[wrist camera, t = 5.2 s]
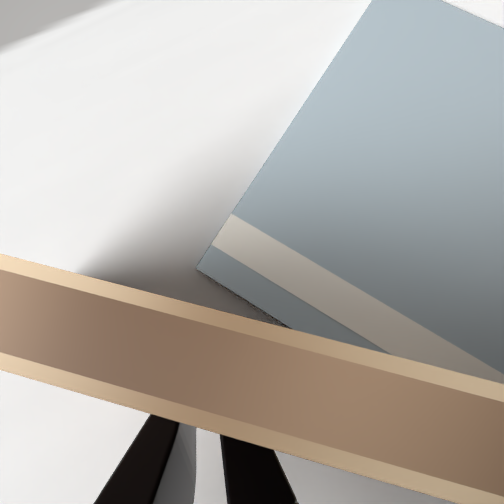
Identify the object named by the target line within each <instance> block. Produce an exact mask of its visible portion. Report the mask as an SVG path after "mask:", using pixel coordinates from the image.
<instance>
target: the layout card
mask: <svg viewBox="0 0 504 504" xmlns="http://www.w3.org/2000/svg"><path fill="white" fill-rule="evenodd" d="M196 269H197V270H199V271H200V272H202V273H204V274H205V275H207V276H208V277H210V278H212V279H213V280H215V281H216V282H218V283H220V284H221V285H223V286H224V287H226V288H228V289H229V290H231V291H232V292H234V293H236V294H237V295H239V296H240V297H242V298H244V299H245V300H247V301H248V302H250V303H252V304H253V305H255V306H256V307H258V308H260V309H261V310H263V311H264V312H266V313H267V314H269V315H271V316H272V317H274V318H275V319H277V320H279V321H280V322H282V323H283V324H285V325H287V326H288V327H290V328H291V329H293V330H296V331H300V332H304V333H308V334H312V335H316V336H320V337H323V338H327V339H331V340H335V341H339V342H343V343H347V344H350V345H354V346H358V347H362V348H366V349H370V350H374V351H377V352H381V353H385V354H389V355H393V356H397V357H401V358H404V359H408V360H412V361H416V362H420V363H424V364H428V365H431V366H435V367H439V368H443V369H447V370H451V371H455V372H458V373H462V374H466V375H470V376H474V377H478V378H482V379H485V380H489V381H493V382H497V383H501V384H504V28H501V27H499V26H497V25H495V24H493V23H490V22H488V21H486V20H484V19H481V18H479V17H477V16H475V15H472V14H470V13H468V12H466V11H463V10H461V9H459V8H457V7H455V6H452V5H450V4H448V3H446V2H443V1H441V0H372V1H371V3H370V5H369V6H368V8H367V9H366V11H365V12H364V14H363V15H362V17H361V18H360V20H359V21H358V23H357V24H356V26H355V27H354V29H353V30H352V32H351V33H350V35H349V36H348V38H347V39H346V41H345V42H344V44H343V45H342V47H341V48H340V50H339V51H338V53H337V54H336V56H335V57H334V59H333V61H332V62H331V64H330V65H329V67H328V68H327V70H326V71H325V73H324V74H323V76H322V77H321V79H320V80H319V82H318V83H317V85H316V86H315V88H314V89H313V91H312V92H311V94H310V95H309V97H308V98H307V100H306V101H305V103H304V104H303V106H302V107H301V109H300V110H299V112H298V113H297V115H296V117H295V118H294V120H293V121H292V123H291V124H290V126H289V127H288V129H287V130H286V132H285V133H284V135H283V136H282V138H281V139H280V141H279V142H278V144H277V145H276V147H275V148H274V150H273V151H272V153H271V154H270V156H269V157H268V159H267V160H266V162H265V163H264V165H263V166H262V168H261V169H260V171H259V173H258V174H257V176H256V177H255V179H254V180H253V182H252V183H251V185H250V186H249V188H248V189H247V191H246V192H245V194H244V195H243V197H242V198H241V200H240V201H239V203H238V204H237V206H236V207H235V209H234V210H233V212H232V213H231V214H230V216H229V217H228V219H227V221H226V222H225V224H224V225H223V227H222V228H221V230H220V231H219V233H218V234H217V236H216V237H215V239H214V240H213V242H212V243H211V245H210V247H209V248H208V250H207V251H206V253H205V254H204V256H203V257H202V259H201V260H200V262H199V263H198V265H197V266H196Z"/></svg>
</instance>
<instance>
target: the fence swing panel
mask: <svg viewBox="0 0 504 504" xmlns="http://www.w3.org/2000/svg"><path fill="white" fill-rule="evenodd" d="M0 370H2V371H6V372H9V373H13V374H16V375H20V376H23V377H26V378H30V379H33V380H37V381H40V382H44V383H47V384H50V385H54V386H57V387H61V388H64V389H67V390H71V391H74V392H78V393H81V394H85V395H88V396H91V397H95V398H98V399H102V400H105V401H109V402H112V403H115V404H119V405H122V406H126V407H129V408H133V409H136V410H139V411H143V412H146V413H150V414H153V415H157V416H160V417H163V418H167V419H170V420H174V421H177V422H181V423H184V424H187V425H191V426H194V427H198V428H201V429H204V430H208V431H211V432H215V433H218V434H222V435H225V436H228V437H232V438H235V439H239V440H242V441H246V442H249V443H252V444H256V445H259V446H263V447H266V448H270V449H273V450H276V451H280V452H283V453H287V454H290V455H294V456H297V457H300V458H304V459H307V460H311V461H314V462H318V463H321V464H324V465H328V466H331V467H335V468H338V469H342V470H345V471H348V472H352V473H355V474H359V475H362V476H365V477H369V478H372V479H376V480H379V481H383V482H386V483H389V484H393V485H396V486H400V487H403V488H407V489H410V490H413V491H417V492H420V493H424V494H427V495H431V496H434V497H437V498H441V499H444V500H448V501H451V502H455V503H458V504H504V384H501V383H497V382H493V381H489V380H485V379H482V378H478V377H474V376H470V375H466V374H462V373H458V372H455V371H451V370H447V369H443V368H439V367H435V366H431V365H428V364H424V363H420V362H416V361H412V360H408V359H404V358H401V357H397V356H393V355H389V354H385V353H381V352H377V351H374V350H370V349H366V348H362V347H358V346H354V345H350V344H347V343H343V342H339V341H335V340H331V339H327V338H323V337H320V336H316V335H312V334H308V333H304V332H300V331H296V330H293V329H289V328H285V327H281V326H277V325H273V324H270V323H266V322H262V321H258V320H254V319H250V318H246V317H243V316H239V315H235V314H231V313H227V312H223V311H219V310H216V309H212V308H208V307H204V306H200V305H196V304H192V303H189V302H185V301H181V300H177V299H173V298H169V297H165V296H162V295H158V294H154V293H150V292H146V291H142V290H138V289H135V288H131V287H127V286H123V285H119V284H115V283H111V282H108V281H104V280H100V279H96V278H92V277H88V276H84V275H81V274H77V273H73V272H69V271H65V270H61V269H57V268H54V267H50V266H46V265H42V264H38V263H34V262H31V261H27V260H23V259H19V258H15V257H11V256H7V255H4V254H0Z"/></svg>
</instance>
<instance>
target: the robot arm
mask: <svg viewBox="0 0 504 504" xmlns="http://www.w3.org/2000/svg"><path fill="white" fill-rule="evenodd" d="M220 440H221V449H222V459H223V468H224V477H225V486H226V495H227V504H299V503H298V502H297V499H296V497H295V495H294V492H293V490H292V488H291V486H290V484H289V482H288V479H287V477H286V475H285V473H284V471H283V469H282V467H281V464H280V462H279V460H278V458H277V456H276V454H275V451H274V450H273V449H270V448H266V447H263V446H259V445H256V444H252V443H249V442H246V441H242V440H239V439H235V438H232V437H228V436H225V435H222V434H220ZM195 482H196V427H194V426H191V425H187V424H184V423H181V422H177V421H174V420H170V419H167V418H163V417H160V416H157V415H153V414H150V416H149V417H148V419H147V420H146V422H145V424H144V425H143V427H142V428H141V430H140V431H139V433H138V435H137V436H136V438H135V439H134V441H133V442H132V444H131V446H130V447H129V449H128V450H127V452H126V454H125V455H124V457H123V458H122V460H121V461H120V463H119V465H118V466H117V468H116V469H115V471H114V472H113V474H112V476H111V477H110V479H109V480H108V482H107V483H106V485H105V487H104V488H103V490H102V491H101V493H100V494H99V496H98V498H97V499H96V501H95V502H94V504H193V502H194V493H195Z"/></svg>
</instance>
